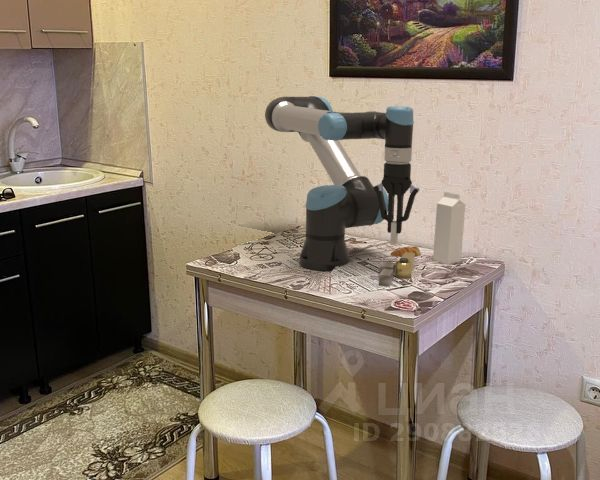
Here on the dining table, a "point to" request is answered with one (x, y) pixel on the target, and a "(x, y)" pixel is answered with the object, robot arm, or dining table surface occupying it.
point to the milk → (449, 229)
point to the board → (388, 272)
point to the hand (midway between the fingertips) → (393, 243)
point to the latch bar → (405, 266)
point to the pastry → (406, 249)
